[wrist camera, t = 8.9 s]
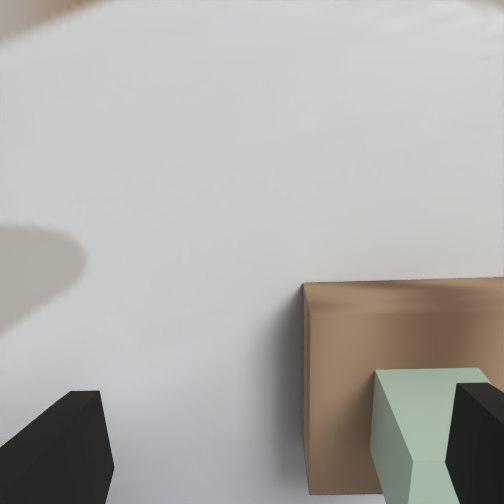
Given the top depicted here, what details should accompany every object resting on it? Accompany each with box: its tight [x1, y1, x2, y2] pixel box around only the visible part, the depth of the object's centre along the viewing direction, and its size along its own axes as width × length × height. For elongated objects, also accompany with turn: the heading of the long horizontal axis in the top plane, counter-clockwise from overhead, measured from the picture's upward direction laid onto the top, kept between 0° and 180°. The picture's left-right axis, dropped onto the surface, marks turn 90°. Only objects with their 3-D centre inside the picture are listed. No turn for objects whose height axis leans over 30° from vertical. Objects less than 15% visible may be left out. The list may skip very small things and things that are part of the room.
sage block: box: [370, 368, 492, 504], centre depth 16 cm, size 4×4×4 cm
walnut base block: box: [303, 277, 504, 495], centre depth 19 cm, size 9×9×3 cm
